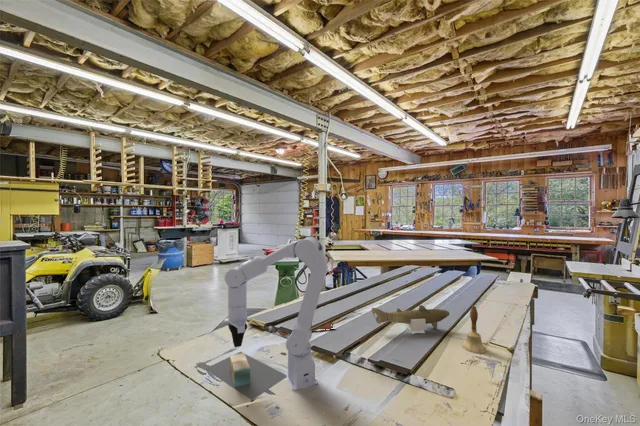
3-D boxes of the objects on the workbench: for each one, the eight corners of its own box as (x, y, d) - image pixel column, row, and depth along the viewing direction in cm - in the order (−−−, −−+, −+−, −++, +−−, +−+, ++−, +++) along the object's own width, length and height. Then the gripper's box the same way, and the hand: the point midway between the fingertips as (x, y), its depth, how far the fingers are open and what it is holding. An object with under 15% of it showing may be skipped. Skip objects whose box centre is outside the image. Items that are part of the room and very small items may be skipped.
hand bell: (463, 351, 106) (464, 309, 106) (460, 341, 114) (460, 301, 114) (489, 355, 104) (490, 311, 103) (483, 344, 112) (484, 304, 111)
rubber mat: (287, 377, 90) (287, 375, 90) (251, 401, 79) (251, 399, 79) (240, 353, 105) (240, 351, 105) (204, 370, 94) (204, 368, 94)
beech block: (244, 366, 95) (250, 383, 86) (230, 369, 93) (234, 387, 84) (244, 352, 95) (250, 368, 86) (229, 355, 93) (234, 372, 84)
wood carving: (368, 329, 125) (368, 303, 125) (442, 324, 130) (442, 300, 130) (374, 338, 116) (374, 311, 116) (454, 333, 121) (454, 307, 121)
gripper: (221, 299, 97) (222, 338, 98) (227, 314, 84) (227, 359, 85) (243, 296, 100) (243, 334, 101) (251, 310, 87) (251, 354, 88)
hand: (237, 346), depth 93 cm, fingers closed
